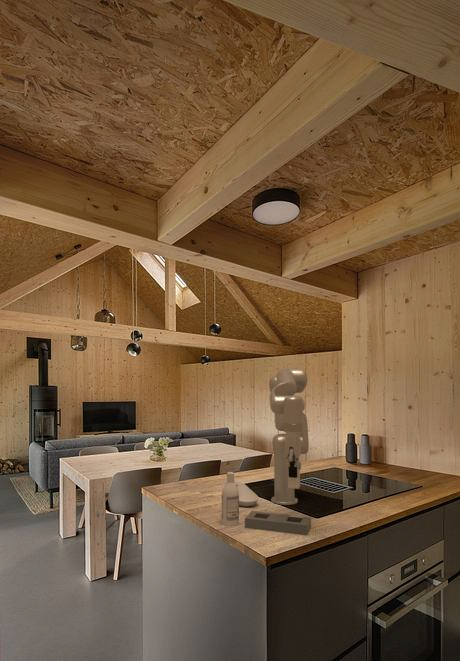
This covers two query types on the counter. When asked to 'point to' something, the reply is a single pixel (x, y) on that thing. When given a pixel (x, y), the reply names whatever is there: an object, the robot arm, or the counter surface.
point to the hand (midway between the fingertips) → (294, 475)
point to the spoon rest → (246, 496)
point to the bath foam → (230, 502)
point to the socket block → (278, 522)
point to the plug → (294, 481)
